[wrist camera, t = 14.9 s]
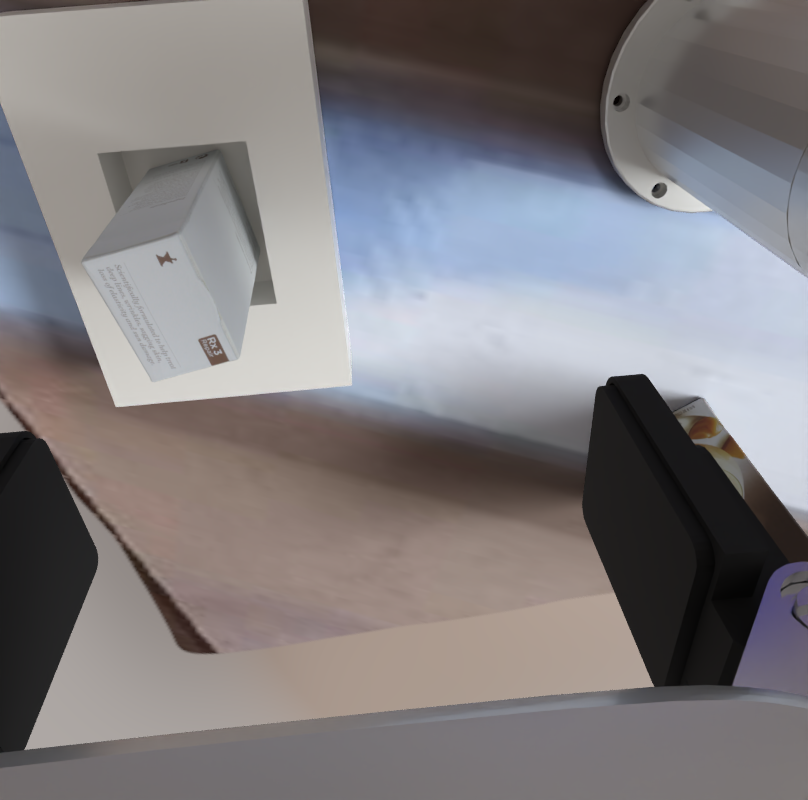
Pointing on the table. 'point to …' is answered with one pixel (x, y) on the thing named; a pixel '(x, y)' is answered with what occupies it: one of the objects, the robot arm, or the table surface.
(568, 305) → the table surface
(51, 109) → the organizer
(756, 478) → the coffee box
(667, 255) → the table surface
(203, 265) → the skincare box
